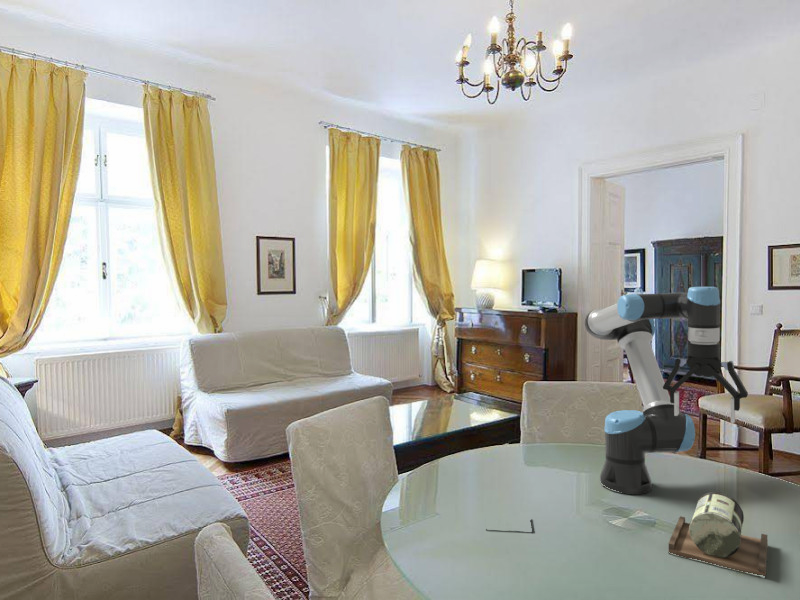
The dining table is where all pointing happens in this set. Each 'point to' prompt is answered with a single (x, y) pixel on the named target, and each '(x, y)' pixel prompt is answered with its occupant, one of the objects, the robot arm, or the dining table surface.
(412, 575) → the dining table surface
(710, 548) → the coffee can
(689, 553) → the cradle
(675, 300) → the robot arm
